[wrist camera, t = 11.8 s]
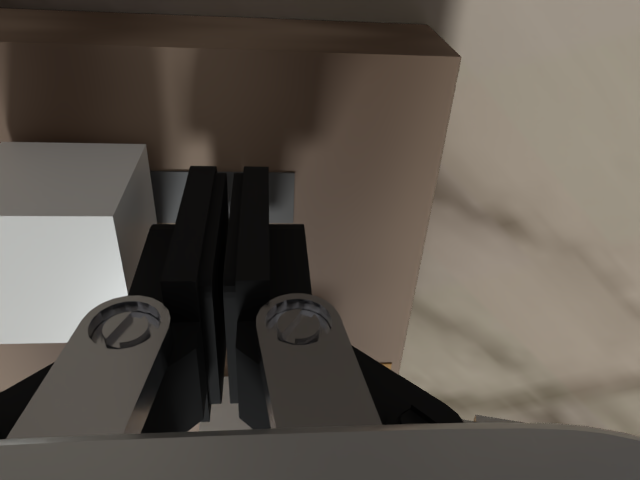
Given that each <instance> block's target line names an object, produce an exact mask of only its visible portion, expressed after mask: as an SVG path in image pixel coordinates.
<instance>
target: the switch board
mask: <svg viewBox="0 0 640 480" xmlns="http://www.w3.org/2000/svg"><path fill="white" fill-rule="evenodd" d="M460 62H461V56H460V55H459V54H458V53H457V52H456V51H455V50H454V49H452V48H451V47H450V46H449V45H448V44H447V43H446V42H445V41H444V40H443V39H442V38H441V37H440V36H439V35H438V34H437V33H436V32H435V31H434V30H432V29H431V28H430V27H429V26H428V25H424V24H398V23H372V22H346V21H320V20H295V19H269V18H243V17H217V16H191V15H165V14H139V13H114V12H88V11H62V10H36V9H10V8H0V143H1V142H47V143H108V144H146V148H147V155H148V162H149V169H150V176H151V183H152V190H153V198H154V205H155V212H156V219H157V224H175V222H176V219H177V215H178V211H179V207H180V203H181V199H182V195H183V192H184V188H185V184H186V180H187V176H188V172H189V168H190V166H216V167H217V173H226V174H227V189H228V209H229V214H230V205H231V195H232V186H233V177H234V173H243V170H244V166H252V167H269V224H304V227H305V235H306V244H307V253H308V262H309V271H310V280H311V290H312V295H314V296H317V297H319V298H322V299H324V300H326V301H327V302H329V303H330V304H331V305H332V306H334V307H335V309H336V310H337V312H338V313H339V315H340V317H341V320H342V322H343V325H344V327H345V330H346V333H347V335H348V338H349V340H350V343H351V345H352V346H354V347H355V348H357V349H359V350H360V351H362V352H363V353H365V354H367V355H368V356H370V357H371V358H373V359H374V360H376V361H378V362H379V363H381V364H382V365H384V366H386V367H387V368H389V369H390V370H392V371H394V372H395V373H397V374H398V375H399V370H400V365H401V360H402V355H403V350H404V345H405V339H406V334H407V329H408V324H409V319H410V314H411V309H412V304H413V299H414V294H415V289H416V284H417V279H418V274H419V269H420V264H421V259H422V254H423V249H424V244H425V238H426V233H427V228H428V223H429V218H430V213H431V208H432V203H433V198H434V193H435V188H436V183H437V178H438V173H439V168H440V163H441V158H442V153H443V148H444V143H445V137H446V132H447V127H448V122H449V117H450V112H451V107H452V102H453V97H454V92H455V87H456V82H457V77H458V72H459V67H460ZM66 344H67V343H27V344H0V393H1V392H2V391H4V390H6V389H8V388H9V387H11V386H13V385H15V384H17V383H18V382H20V381H22V380H24V379H25V378H27V377H29V376H31V375H32V374H34V373H36V372H38V371H39V370H41V369H43V368H45V367H46V366H48V365H50V364H52V363H54V362H55V361H56V359H57V358H58V356H59V355H60V353H61V352H62V350H63V348H64V347H65V345H66ZM227 376H228V364H227V348H226V359H225V371H224V377H227ZM199 425H200V422H199V423H198V424H197V425H195V426H194V427H193V428H192V429H190V430H189V431H188V432H194V431H199Z"/></svg>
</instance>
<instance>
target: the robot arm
mask: <svg viewBox="0 0 640 480" xmlns="http://www.w3.org/2000/svg"><path fill="white" fill-rule="evenodd" d="M226 348H227V364H228V380H229V396H230V404H234V403H238V408H239V418H240V419H241V420H242V421H243V422H245V423H246V424H247V425H248V426H250V427H251V428H252V429H247V430H220V431H194V432H188V431H189V430H190V429H192V428H193V427H194V426H195V425H197V424H198V423H199V422H210V414H211V404H221V403H222V396H223V383H224V371H225V359H226ZM0 480H640V437H639V436H635V435H632V434H628V433H624V432H618V431H612V430H606V429H601V428H595V427H589V426H580V425H569V424H558V423H524V422H517V421H511V420H505V419H499V418H493V417H487V416H481V415H475V418H474V421H469V420H463V419H461V418H460V416H459V415H458V414H457V413H456V412H455V411H454V410H452V409H451V408H450V407H449V406H447V405H446V404H445V403H443V402H441V401H440V400H438V399H437V398H435V397H433V396H432V395H430V394H429V393H427V392H426V391H424V390H422V389H421V388H419V387H418V386H416V385H414V384H413V383H411V382H410V381H408V380H406V379H405V378H403V377H402V376H400V375H398V374H397V373H395V372H394V371H392V370H390V369H389V368H387V367H386V366H384V365H382V364H381V363H379V362H378V361H376V360H374V359H373V358H371V357H370V356H368V355H367V354H365V353H363V352H362V351H360V350H359V349H357V348H355V347H354V346H352V345H351V343H350V340H349V338H348V335H347V333H346V330H345V327H344V325H343V322H342V320H341V317H340V315H339V313H338V312H337V310H336V309H335V307H334V306H332V305H331V304H330V303H329V302H327V301H326V300H324V299H322V298H319V297H317V296H314V295H312V290H311V280H310V271H309V262H308V253H307V244H306V235H305V227H304V224H269V167H252V166H244V170H243V173H234V177H233V186H232V195H231V205H230V214H229V209H228V189H227V174H226V173H217V167H216V166H190V168H189V172H188V176H187V180H186V184H185V188H184V192H183V195H182V199H181V203H180V207H179V211H178V215H177V219H176V222H175V224H153V225H151V227H150V229H149V232H148V235H147V238H146V242H145V245H144V248H143V251H142V254H141V257H140V260H139V263H138V266H137V269H136V272H135V275H134V278H133V281H132V284H131V287H130V290H129V293H128V296H123V297H118V298H113V299H111V300H108V301H106V302H104V303H101V304H99V305H98V306H96V307H95V308H93V309H92V310H90V311H89V312H88V313H87V314H86V316H85V317H84V318H83V319H82V320H81V322H80V323H79V325H78V326H77V328H76V330H75V331H74V333H73V334H72V336H71V337H70V339H69V341H68V342H67V344H66V345H65V347H64V348H63V350H62V352H61V353H60V355H59V356H58V358H57V359H56V361H55V362H54V363H52V364H50V365H48V366H46V367H45V368H43V369H41V370H39V371H38V372H36V373H34V374H32V375H31V376H29V377H27V378H25V379H24V380H22V381H20V382H18V383H17V384H15V385H13V386H11V387H9V388H8V389H6V390H4V391H2V392H1V393H0Z"/></svg>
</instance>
